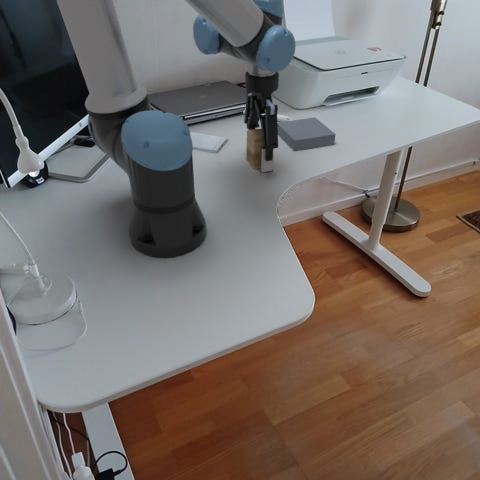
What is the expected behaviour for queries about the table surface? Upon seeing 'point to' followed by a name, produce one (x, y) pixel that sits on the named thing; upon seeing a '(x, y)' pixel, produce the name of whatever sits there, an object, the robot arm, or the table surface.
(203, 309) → the table surface
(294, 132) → the grey base
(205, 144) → the hard drive
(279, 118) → the marker
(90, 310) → the table surface
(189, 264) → the table surface
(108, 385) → the table surface
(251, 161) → the oak block
